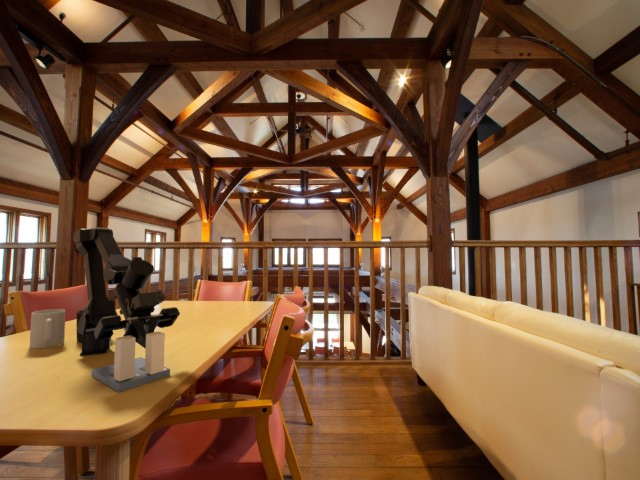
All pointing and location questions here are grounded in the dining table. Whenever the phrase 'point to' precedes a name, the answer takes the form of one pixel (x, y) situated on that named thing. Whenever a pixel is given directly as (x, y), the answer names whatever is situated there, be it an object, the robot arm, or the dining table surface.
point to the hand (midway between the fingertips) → (151, 349)
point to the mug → (47, 328)
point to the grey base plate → (139, 378)
